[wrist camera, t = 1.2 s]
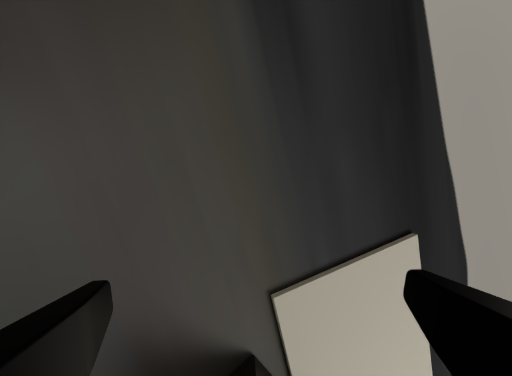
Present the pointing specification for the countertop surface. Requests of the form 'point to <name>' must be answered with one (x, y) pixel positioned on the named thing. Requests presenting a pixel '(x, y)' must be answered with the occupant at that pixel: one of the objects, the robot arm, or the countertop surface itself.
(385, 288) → the mat
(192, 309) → the countertop surface
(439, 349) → the robot arm
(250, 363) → the phone stand
